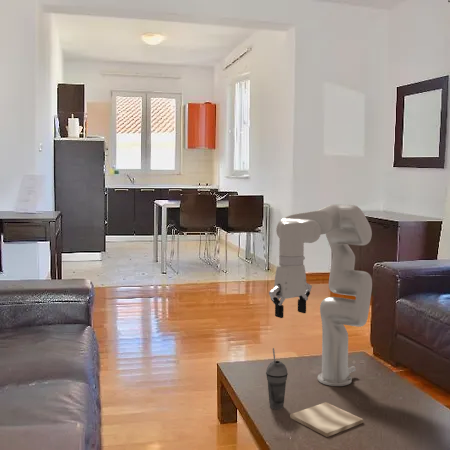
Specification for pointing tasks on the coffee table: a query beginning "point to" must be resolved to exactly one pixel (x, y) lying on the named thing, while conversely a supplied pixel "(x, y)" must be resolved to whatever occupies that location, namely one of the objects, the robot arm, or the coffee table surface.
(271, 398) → the beverage cup
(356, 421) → the birch board
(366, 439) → the coffee table surface
